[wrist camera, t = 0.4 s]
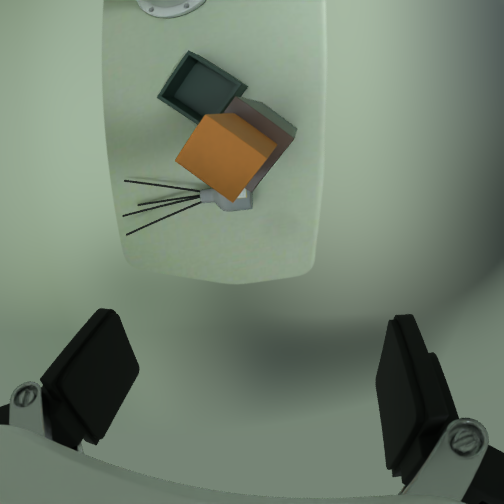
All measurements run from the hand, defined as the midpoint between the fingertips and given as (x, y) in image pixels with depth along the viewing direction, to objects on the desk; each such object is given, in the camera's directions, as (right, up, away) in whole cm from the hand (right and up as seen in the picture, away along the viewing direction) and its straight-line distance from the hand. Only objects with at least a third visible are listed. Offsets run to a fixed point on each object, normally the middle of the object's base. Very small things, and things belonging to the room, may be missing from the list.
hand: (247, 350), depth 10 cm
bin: (-6, +25, +29) cm, 39 cm away
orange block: (-1, +12, +15) cm, 19 cm away
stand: (+2, +19, +30) cm, 36 cm away
